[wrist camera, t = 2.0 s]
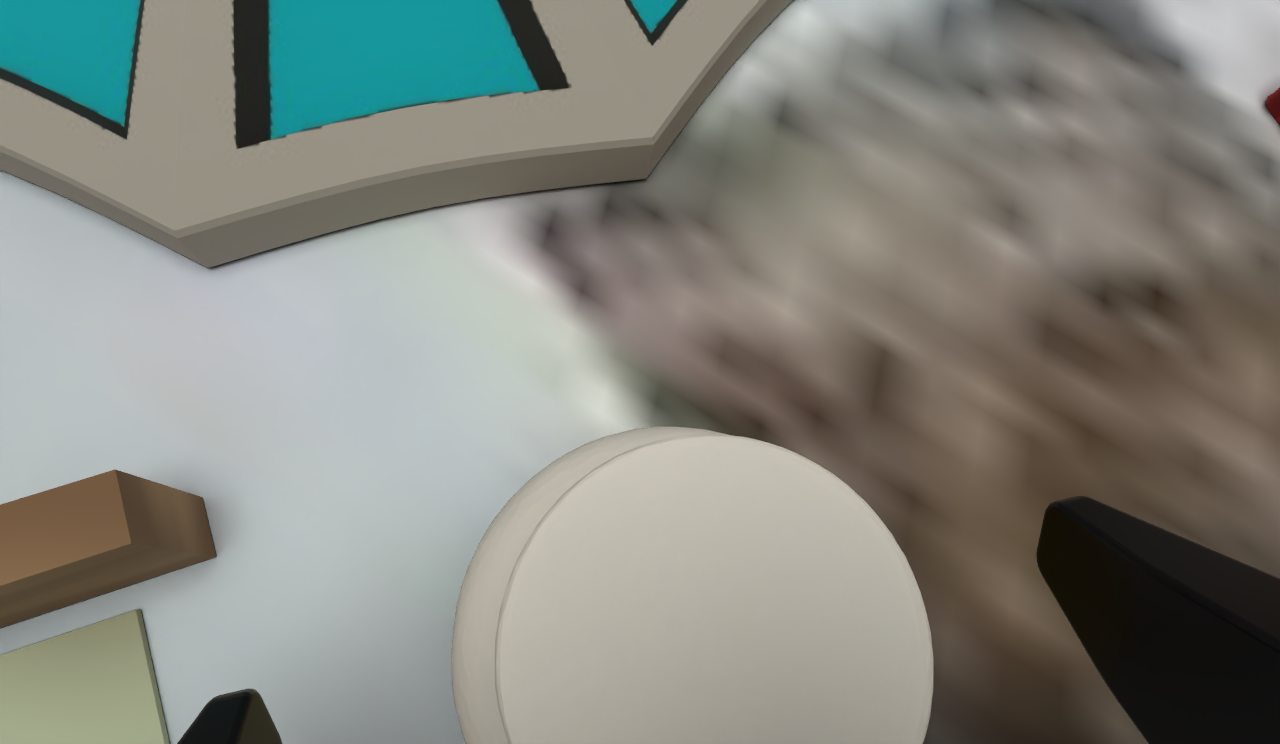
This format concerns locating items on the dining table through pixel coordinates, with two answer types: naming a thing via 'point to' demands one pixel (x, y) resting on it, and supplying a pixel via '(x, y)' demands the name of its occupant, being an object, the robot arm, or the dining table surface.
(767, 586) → the supplement bottle
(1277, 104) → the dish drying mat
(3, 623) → the wooden corner bracket
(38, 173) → the decorative platform
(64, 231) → the dining table surface
